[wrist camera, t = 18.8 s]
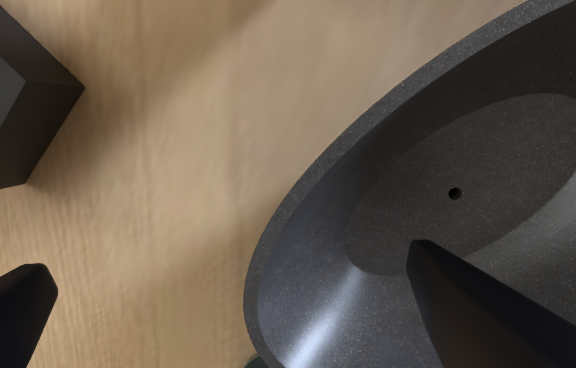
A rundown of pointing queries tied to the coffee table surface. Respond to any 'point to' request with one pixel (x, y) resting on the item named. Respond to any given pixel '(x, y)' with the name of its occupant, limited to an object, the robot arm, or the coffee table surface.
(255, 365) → the slate coaster
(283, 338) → the bowl
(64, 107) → the lamp
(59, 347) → the coffee table surface
